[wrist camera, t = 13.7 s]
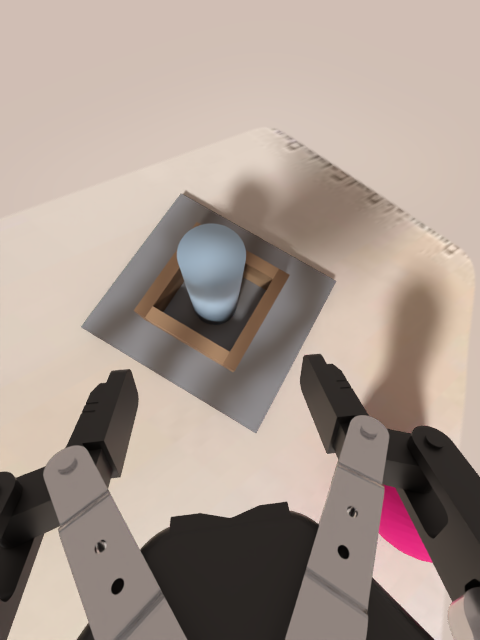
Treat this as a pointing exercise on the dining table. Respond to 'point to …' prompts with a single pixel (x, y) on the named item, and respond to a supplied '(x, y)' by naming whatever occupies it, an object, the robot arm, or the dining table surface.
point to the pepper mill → (400, 526)
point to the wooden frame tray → (205, 339)
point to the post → (212, 270)
